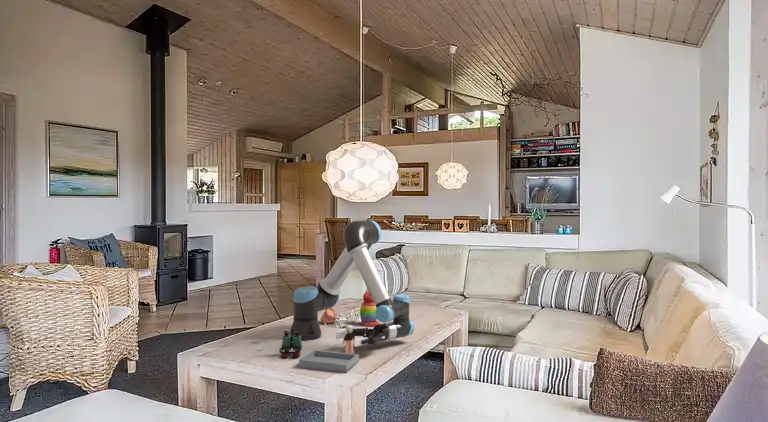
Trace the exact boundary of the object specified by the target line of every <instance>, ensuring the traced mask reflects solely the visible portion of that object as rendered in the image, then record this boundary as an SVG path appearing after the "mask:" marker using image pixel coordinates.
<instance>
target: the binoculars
mask: <svg viewBox="0 0 768 422" xmlns="http://www.w3.org/2000/svg"><path fill="white" fill-rule="evenodd" d="M299 333H300V331H296V332H295V335H293V339H292V335H290V331H288V330H284V331H283V334H284V335H283V336H282V339H281V340H282V341H281V347H280V348H279V353H280V358H281V359H283V360H287V359H289V357H290V355H291V358H292V360H293V359H294V360H297V359H299V358H300V357H301V354H302V352H301V351H302V349H303V344H302V343H303V342H302V340H301V336H300V335H299ZM291 350H292V351H291Z"/></svg>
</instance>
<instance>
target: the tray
mask: <svg viewBox="0 0 768 422" xmlns="http://www.w3.org/2000/svg"><path fill="white" fill-rule="evenodd" d="M359 357H360V356H359V354H355V353H353V354H348V353H345V352H338V351H328V350H317V349H313V350H311V351H310V352H309V353H307V354H306V355H304V356H303V357H301V358H300V359H299V361H298V368H301V369H309V370H310V369H312V370H317V371H318V370H319V371H326V372H334V373H343V372H344V373H345V374H347V373H348V372H349V371H351V370H352V369H353V368H354V367H355V366H357V364H358V363H359V362H360V360H359V359H360V358H359ZM344 373H343V374H344Z"/></svg>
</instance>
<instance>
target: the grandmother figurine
mask: <svg viewBox="0 0 768 422" xmlns="http://www.w3.org/2000/svg"><path fill="white" fill-rule="evenodd" d="M353 329H354V326H353V325H351V324H349V325H346V327H345V331H347V334H346V335H345V337H344V338H342V339H343V341H342V345H345V347H344V353H348V354H355V352H354V340H355V339H356V338H355V337H356V336H354V334H353V333H352V331H353Z"/></svg>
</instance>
